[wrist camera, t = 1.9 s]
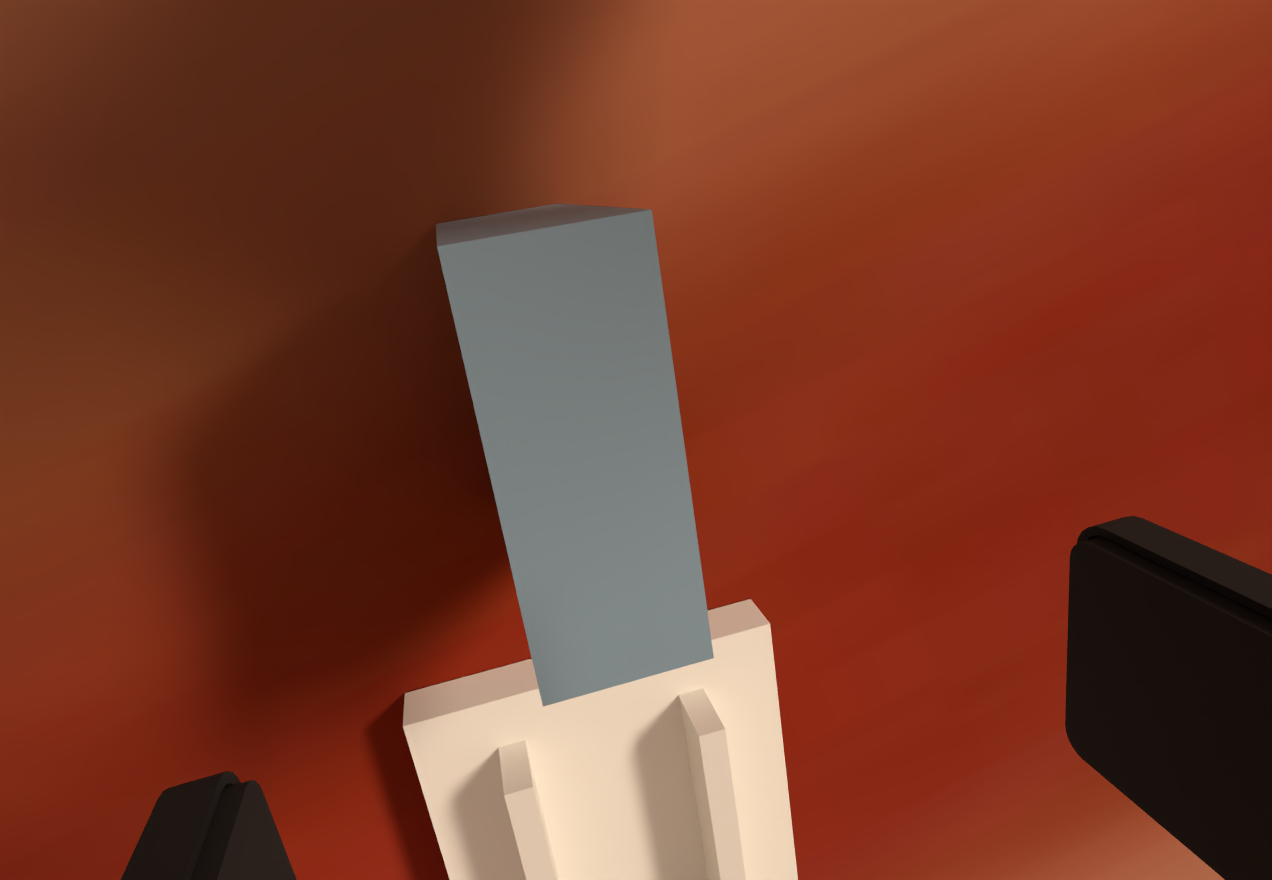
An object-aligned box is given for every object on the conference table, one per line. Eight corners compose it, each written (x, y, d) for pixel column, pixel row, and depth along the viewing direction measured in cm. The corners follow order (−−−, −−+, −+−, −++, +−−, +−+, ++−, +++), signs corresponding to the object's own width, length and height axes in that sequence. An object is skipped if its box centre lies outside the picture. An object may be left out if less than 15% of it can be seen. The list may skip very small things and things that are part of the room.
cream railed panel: (404, 693, 30) (396, 833, 23) (750, 599, 32) (830, 701, 26) (498, 1005, 35) (512, 1188, 29) (786, 904, 38) (859, 1051, 31)
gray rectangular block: (435, 223, 25) (436, 246, 14) (557, 203, 26) (651, 209, 15) (500, 506, 28) (542, 706, 17) (606, 481, 29) (713, 658, 18)
